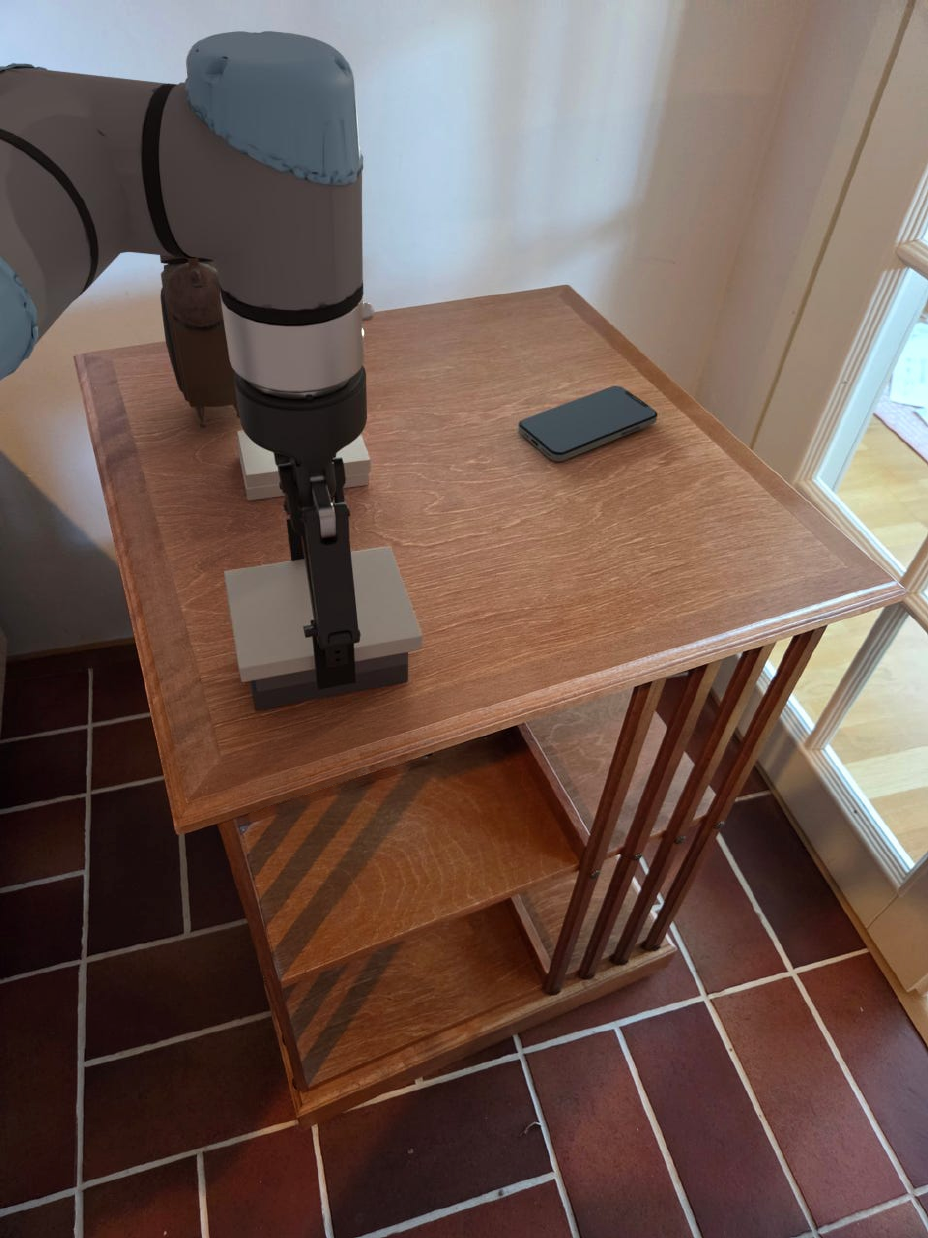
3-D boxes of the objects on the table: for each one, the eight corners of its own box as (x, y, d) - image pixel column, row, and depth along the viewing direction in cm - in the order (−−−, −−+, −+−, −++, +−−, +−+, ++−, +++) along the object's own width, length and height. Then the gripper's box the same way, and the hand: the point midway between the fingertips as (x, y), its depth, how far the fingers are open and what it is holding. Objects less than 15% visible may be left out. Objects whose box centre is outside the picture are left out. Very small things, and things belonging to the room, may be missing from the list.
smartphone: (514, 420, 91) (617, 381, 97) (513, 433, 92) (615, 394, 98) (557, 455, 87) (662, 413, 93) (555, 468, 88) (659, 426, 94)
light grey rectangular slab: (241, 682, 58) (238, 669, 57) (226, 584, 64) (223, 570, 63) (422, 649, 61) (423, 635, 60) (390, 559, 67) (390, 545, 66)
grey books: (252, 711, 63) (242, 660, 59) (243, 653, 67) (233, 601, 63) (407, 681, 66) (409, 631, 62) (390, 627, 70) (390, 576, 66)
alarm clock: (174, 373, 95) (136, 188, 81) (239, 367, 97) (212, 185, 83) (185, 446, 86) (143, 251, 71) (256, 438, 88) (230, 246, 73)
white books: (247, 501, 80) (243, 475, 78) (238, 455, 85) (234, 430, 83) (371, 484, 83) (370, 460, 81) (355, 441, 88) (354, 417, 86)
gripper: (412, 474, 41) (406, 737, 57) (328, 274, 56) (342, 528, 72) (258, 494, 39) (297, 760, 55) (213, 281, 54) (254, 541, 70)
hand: (323, 629), depth 64 cm, fingers closed on light grey rectangular slab, 10 cm apart
